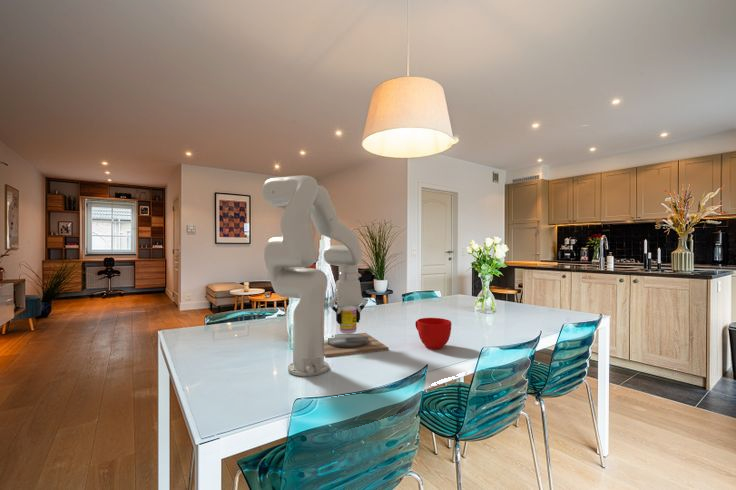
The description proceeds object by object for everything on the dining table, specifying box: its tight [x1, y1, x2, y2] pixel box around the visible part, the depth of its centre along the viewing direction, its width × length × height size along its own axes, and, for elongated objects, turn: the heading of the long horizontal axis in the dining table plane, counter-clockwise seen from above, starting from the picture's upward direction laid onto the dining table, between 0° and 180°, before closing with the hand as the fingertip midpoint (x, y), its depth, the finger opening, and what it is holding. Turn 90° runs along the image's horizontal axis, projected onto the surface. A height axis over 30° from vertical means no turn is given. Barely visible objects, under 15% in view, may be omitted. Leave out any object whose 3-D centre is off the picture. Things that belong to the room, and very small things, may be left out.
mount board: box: [324, 332, 390, 358], centre depth 137 cm, size 24×24×2 cm
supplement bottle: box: [339, 306, 357, 334], centre depth 137 cm, size 7×7×13 cm
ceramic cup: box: [414, 317, 452, 350], centre depth 136 cm, size 13×17×10 cm
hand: (348, 322), depth 137 cm, fingers closed on supplement bottle, 6 cm apart
